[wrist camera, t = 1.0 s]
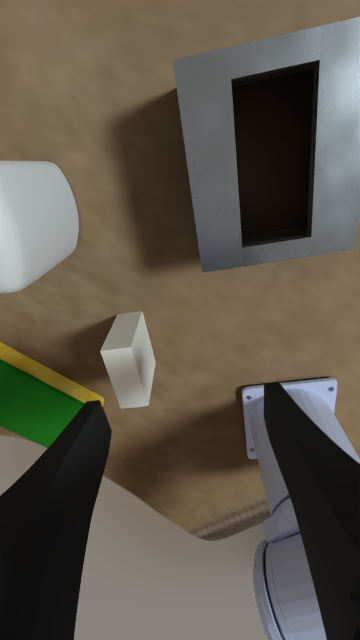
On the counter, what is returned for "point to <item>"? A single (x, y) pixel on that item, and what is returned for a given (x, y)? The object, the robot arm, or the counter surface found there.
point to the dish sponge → (37, 398)
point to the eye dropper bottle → (34, 222)
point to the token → (129, 360)
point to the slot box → (326, 143)
